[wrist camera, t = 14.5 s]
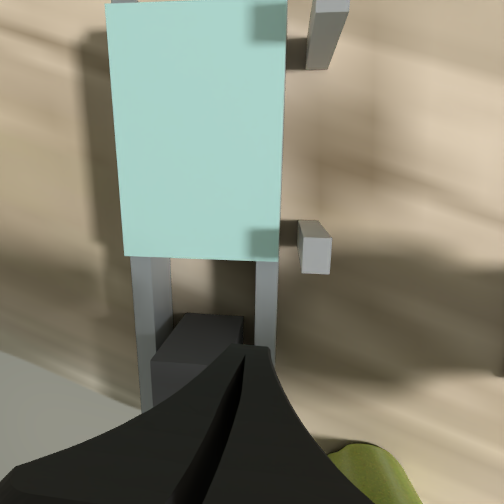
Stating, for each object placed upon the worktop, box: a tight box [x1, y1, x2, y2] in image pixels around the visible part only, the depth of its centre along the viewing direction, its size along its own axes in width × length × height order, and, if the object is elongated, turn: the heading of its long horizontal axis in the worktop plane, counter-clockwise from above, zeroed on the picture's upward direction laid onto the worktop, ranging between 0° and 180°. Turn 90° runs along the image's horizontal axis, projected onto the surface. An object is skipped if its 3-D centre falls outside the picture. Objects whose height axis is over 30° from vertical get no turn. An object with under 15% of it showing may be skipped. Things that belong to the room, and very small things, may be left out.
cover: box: [105, 0, 287, 262], centre depth 16 cm, size 8×12×1 cm
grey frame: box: [111, 0, 350, 413], centre depth 17 cm, size 11×24×6 cm, turn 179°
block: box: [150, 313, 244, 407], centre depth 19 cm, size 4×8×6 cm, turn 179°
